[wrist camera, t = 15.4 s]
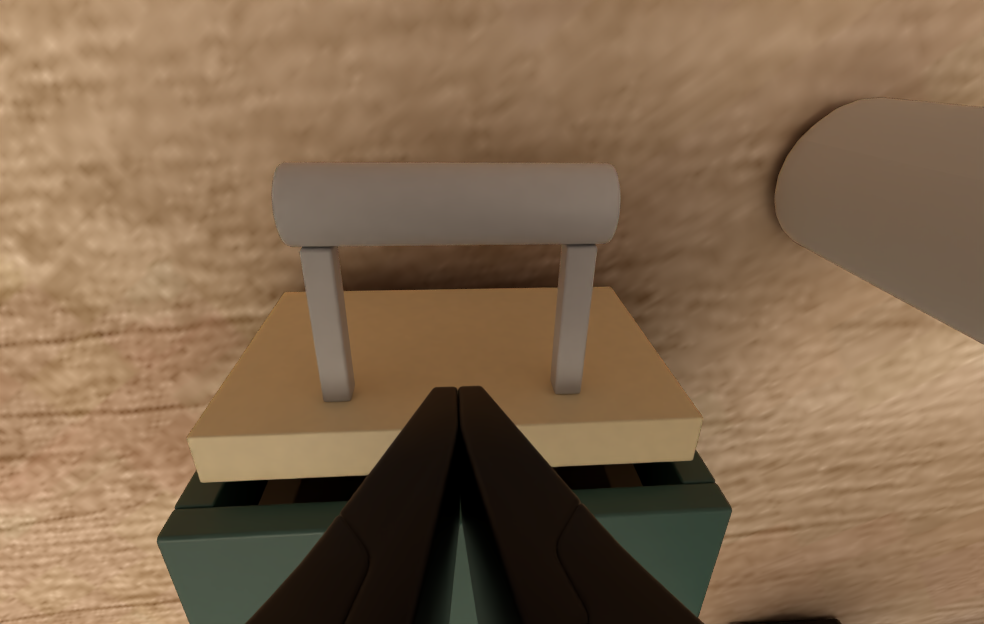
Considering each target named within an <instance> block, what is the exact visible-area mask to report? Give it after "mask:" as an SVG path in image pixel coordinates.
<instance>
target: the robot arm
mask: <svg viewBox="0 0 984 624" xmlns="http://www.w3.org/2000/svg"><path fill="white" fill-rule="evenodd" d="M460 503H461V517H462V525H463V532H464V539H465V545H466V552H467V558H468V564H469V571H470V577H471V583H472V590H473V596H474V602H475V609H476V615H477V622H478V624H704V623H703V622H702V621H701V620H700V619H699V618H697V617H696V616H695V615H694V614H693V613H692V612H691V611H690V610H689V609H688V608H687V607H686V606H684V605H683V604H682V603H681V602H680V601H679V600H678V599H677V598H676V597H675V596H674V595H673V594H672V593H670V592H669V591H668V590H667V589H666V588H665V587H664V586H663V585H662V584H661V583H660V582H659V581H657V580H656V579H655V578H654V577H653V576H652V575H651V574H650V573H649V572H648V571H647V570H646V569H645V568H644V567H643V566H642V565H641V564H640V563H639V562H637V561H636V560H635V559H634V558H633V557H632V556H631V555H630V554H629V553H628V552H627V551H626V550H625V549H624V548H623V547H622V546H621V545H620V544H619V543H618V542H617V541H616V540H615V538H614V537H613V536H612V535H611V534H610V533H609V532H608V531H607V530H606V529H605V528H604V527H603V525H602V524H601V523H600V522H599V521H598V520H597V519H596V518H595V517H594V515H593V514H592V513H591V512H590V511H589V510H588V508H587V507H586V506H585V505H584V504H583V503H581V501H580V499H579V498H578V497H577V496H576V495H575V494H574V492H573V491H572V490H571V489H570V488H569V487H568V485H567V484H566V483H565V482H564V481H563V480H562V478H561V477H560V476H559V475H558V474H557V473H556V472H555V470H554V469H553V468H552V467H551V466H550V465H549V463H548V462H547V461H546V460H545V459H544V458H543V456H542V455H541V454H540V453H539V452H538V451H537V449H536V448H535V447H534V446H533V445H532V444H531V443H530V441H529V440H528V439H527V438H526V437H525V436H524V434H523V433H522V432H521V431H520V430H519V429H518V427H517V426H516V425H515V424H514V423H513V422H512V421H511V419H510V418H509V417H508V416H507V415H506V414H505V412H504V411H503V410H502V409H501V408H500V407H499V405H498V404H497V403H496V402H495V401H494V400H493V399H492V397H491V396H490V395H489V394H488V393H487V392H486V390H485V389H484V388H483V387H482V386H461V387H459V389H458V390H457V388H456V387H453V386H451V387H435V388H433V389H432V390H431V392H430V393H429V394H428V396H427V397H426V398H425V400H424V401H423V402H422V404H421V405H420V406H419V408H418V409H417V410H416V412H415V413H414V414H413V416H412V417H411V418H410V420H409V421H408V422H407V424H406V425H405V426H404V428H403V429H402V430H401V432H400V433H399V434H398V436H397V437H396V438H395V440H394V441H393V442H392V444H391V445H390V446H389V448H388V449H387V450H386V452H385V453H384V454H383V456H382V457H381V458H380V460H379V461H378V462H377V464H376V465H375V466H374V468H373V469H372V470H371V472H370V473H369V474H368V476H367V477H366V478H365V480H364V481H363V482H362V484H361V485H360V486H359V488H358V489H357V490H356V492H355V493H354V494H353V496H352V497H351V498H350V500H349V501H348V502H347V504H346V505H345V506H344V508H343V509H342V510H341V512H340V516H337V517H336V518H335V519H334V521H333V522H332V523H331V525H330V526H329V527H328V529H327V530H326V531H325V533H324V534H323V535H322V537H321V538H320V539H319V540H318V542H317V543H316V544H315V545H314V547H313V548H312V549H311V550H310V552H309V553H308V554H307V555H306V557H305V558H304V559H303V560H302V562H301V563H300V564H299V565H298V566H297V567H296V569H295V570H294V571H293V572H292V573H291V574H290V575H289V576H288V577H287V579H286V580H285V581H284V582H283V583H282V584H281V585H280V586H279V588H278V589H277V590H276V591H275V592H274V593H273V594H272V595H271V596H270V598H269V599H268V600H267V601H266V602H265V603H264V604H263V605H262V606H261V607H260V608H259V609H258V610H257V611H256V613H255V614H254V615H253V616H252V617H251V618H250V619H249V620H248V621H247V622H246V623H245V624H449V622H450V612H451V602H452V592H453V583H454V573H455V563H456V553H457V544H458V534H459V522H460ZM772 624H841V622H840V621H839V620H837V619H828V620H814V621H800V622H786V623H772Z"/></svg>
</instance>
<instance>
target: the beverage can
mask: <svg viewBox="0 0 984 624" xmlns="http://www.w3.org/2000/svg"><path fill="white" fill-rule="evenodd" d="M774 197H775V210H776V216H777V218H778V221H779V223H780V225H781V228H782V230H783V231H784V232H785V233H786V234H787V235H788V236H789V237H790V238H791V239H792V240H793V241H794V242H796V243H798V244H799V245H801V246H803V247H805V248H807V249H808V250H810V251H812V252H814V253H816V254H817V255H819V256H821V257H823V258H825V259H827V260H828V261H830V262H832V263H834V264H836V265H837V266H839V267H841V268H843V269H845V270H847V271H848V272H850V273H852V274H854V275H856V276H858V277H859V278H861V279H863V280H865V281H867V282H869V283H870V284H872V285H874V286H876V287H878V288H880V289H882V290H883V291H885V292H887V293H889V294H891V295H893V296H894V297H896V298H898V299H900V300H902V301H904V302H906V303H908V304H909V305H911V306H913V307H915V308H917V309H919V310H921V311H922V312H924V313H926V314H928V315H930V316H932V317H934V318H935V319H937V320H939V321H941V322H943V323H945V324H947V325H949V326H950V327H952V328H954V329H956V330H958V331H960V332H962V333H963V334H965V335H967V336H969V337H971V338H973V339H975V340H977V341H978V342H980V343H982V344H984V107H977V106H967V105H956V104H946V103H935V102H925V101H914V100H904V99H893V98H883V97H880V98H868V99H859V100H857V101H854V102H851V103H849V104H846V105H844V106H841V107H838V108H837V109H835V110H834V111H832V112H831V113H830V114H828V115H827V116H825V117H824V118H823V119H821V120H820V121H818V122H817V123H816V124H815V125H813V126H812V127H811V128H810V129H809V130H808V131H807V132H806V133H805V134H804V135H803V136H802V137H801V138H800V139H799V140H798V141H797V142H796V144H795V145H794V147H793V148H792V150H791V151H790V152H789V154H788V155H787V157H786V159H785V161H784V164H783V166H782V168H781V170H780V173H779V175H778V179H777V185H776V190H775V196H774Z"/></svg>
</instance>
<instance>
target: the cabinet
mask: <svg viewBox="0 0 984 624" xmlns="http://www.w3.org/2000/svg"><path fill="white" fill-rule="evenodd" d="M633 465H634V467H635V470H636V472H637V474H638V476H639V478H640V481H641V483H642V485H643V486H638V487H617V488H597V489H576V490H572V491H573V492H574V494H575V495H576V496H577V497H578V498H579V499H580V501H581V503H583V504H584V505H585V506H586V507H587V508H588V510H589V511H590V512H591V513H592V514H593V515H594V517H595V518H596V519H597V520H598V521H599V522H600V523H601V524H602V525H603V527H604V528H605V529H606V530H607V531H608V532H609V533H610V534H611V535H612V536H613V537H614V538H615V540H616V541H617V542H618V543H619V544H620V545H621V546H622V547H623V548H624V549H625V550H626V551H627V552H628V553H629V554H630V555H631V556H632V557H633V558H634V559H635V560H636V561H637V562H639V563H640V564H641V565H642V566H643V567H644V568H645V569H646V570H647V571H648V572H649V573H650V574H651V575H652V576H653V577H654V578H655V579H656V580H657V581H659V582H660V583H661V584H662V585H663V586H664V587H665V588H666V589H667V590H668V591H669V592H670V593H672V594H673V595H674V596H675V597H676V598H677V599H678V600H679V601H680V602H681V603H682V604H683V605H684V606H686V607H687V608H688V609H689V610H690V611H691V612H692V613H693V614H694V615H695V616H696V617H697V618H698V616H699V613H700V610H701V607H702V604H703V600H704V597H705V594H706V591H707V588H708V585H709V582H710V579H711V575H712V572H713V569H714V566H715V563H716V560H717V557H718V553H719V550H720V547H721V544H722V541H723V538H724V535H725V532H726V528H727V525H728V522H729V519H730V516H731V513H732V508H731V506H730V504H729V502H728V501H727V499H726V498H725V496H724V494H723V493H722V491H721V490H720V488H719V486H718V485H717V484H715V479H714V478H713V476H712V474H711V473H710V471H709V470H708V468H707V466H706V465H705V463H704V462H703V460H702V459H701V457H700V455H699V454H698V452H697V451H696V449H695V453H694V457H693V460H691V461H672V462H650V463H633ZM267 483H268V480H250V481H228V482H206V483H202V482H200V479H199V476H198V473H197V470H196V472H195V473H194V475H193V477H192V478H191V480H190V482H189V483H188V485H187V487H186V488H185V490H184V492H183V493H182V495H181V497H180V498H179V500H178V502H177V503H176V505H175V510H174V511H173V512H172V514H171V515H170V517H169V519H168V520H167V522H166V524H165V525H164V527H163V529H162V530H161V532H160V534H159V535H158V538H157V544H158V546H159V549H160V551H161V554H162V556H163V559H164V561H165V564H166V566H167V569H168V571H169V574H170V576H171V579H172V581H173V584H174V586H175V589H176V591H177V593H178V596H179V598H180V601H181V603H182V606H183V608H184V611H185V613H186V616H187V618H188V621H189V623H190V624H245V623H246V622H247V621H248V620H249V619H250V618H251V617H252V616H253V615H254V614H255V613H256V611H257V610H258V609H259V608H260V607H261V606H262V605H263V604H264V603H265V602H266V601H267V600H268V599H269V598H270V596H271V595H272V594H273V593H274V592H275V591H276V590H277V589H278V588H279V586H280V585H281V584H282V583H283V582H284V581H285V580H286V579H287V577H288V576H289V575H290V574H291V573H292V572H293V571H294V570H295V569H296V567H297V566H298V565H299V564H300V563H301V562H302V560H303V559H304V558H305V557H306V555H307V554H308V553H309V552H310V550H311V549H312V548H313V547H314V545H315V544H316V543H317V542H318V540H319V539H320V538H321V537H322V535H323V534H324V533H325V531H326V530H327V529H328V527H329V526H330V525H331V523H332V522H333V521H334V519H335V518H336V517H337V516H340V512H341V510H342V509H343V508H344V506H345V505H346V504H347V502H348V501H330V502H310V503H289V504H269V505H258V504H259V502H260V499H261V497H262V495H263V492H264V490H265V487H266V485H267ZM449 624H478V622H477V615H476V609H475V602H474V596H473V590H472V583H471V577H470V571H469V564H468V558H467V552H466V545H465V539H464V532H463V525H462V517H461V503H460V522H459V534H458V544H457V553H456V563H455V573H454V583H453V592H452V602H451V612H450V622H449Z"/></svg>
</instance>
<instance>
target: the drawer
mask: <svg viewBox="0 0 984 624" xmlns="http://www.w3.org/2000/svg"><path fill="white" fill-rule="evenodd" d="M620 202H621V195H620V184H619V178H618V174H617V171H616V169H615V167H614V166H613V165H611V164H609V163H446V162H283V163H281V164H279V165H278V166H277V167H276V170H275V172H274V177H273V183H272V208H273V215H274V220H275V224H276V227H277V231H278V233H279V236H280V238H281V240H282V241H283V242H284V244H286V245H288V246H290V247H302V248H301V249H300V259H301V265H302V271H303V277H304V284H305V290H306V292H284V293H283V295H282V296H281V298H280V299H279V301H278V302H277V304H276V305H275V307H274V308H273V310H272V311H271V313H270V314H269V316H268V317H267V319H266V320H265V322H264V323H263V325H262V326H261V328H260V329H259V330H258V332H257V333H256V335H255V336H254V338H253V339H252V341H251V342H250V344H249V345H248V347H247V348H246V350H245V351H244V353H243V354H242V356H241V357H240V359H239V360H238V362H237V363H236V365H235V366H234V368H233V369H232V371H231V372H230V374H229V375H228V377H227V378H226V379H225V381H224V382H223V384H222V385H221V387H220V388H219V390H218V391H217V393H216V394H215V396H214V397H213V399H212V400H211V402H210V403H209V405H208V406H207V408H206V409H205V411H204V412H203V414H202V415H201V417H200V418H199V420H198V421H197V423H196V424H195V426H194V427H193V429H192V430H191V431H190V433H189V434H188V436H187V442H188V445H189V448H190V451H191V454H192V457H193V460H194V464H195V467H196V470H197V473H198V476H199V479H200V482H202V483H206V482H228V481H250V480H268V483H267V485H266V487H265V490H264V492H263V495H262V497H261V499H260V502H259V504H258V505H269V504H289V503H310V502H330V501H349V500H350V498H351V497H352V496H353V494H354V493H355V492H356V490H357V489H358V488H359V486H360V485H361V484H362V482H363V481H364V480H365V478H366V477H367V476H368V474H369V473H370V472H371V470H372V469H373V468H374V466H375V465H376V464H377V462H378V461H379V460H380V458H381V457H382V456H383V454H384V453H385V452H386V450H387V449H388V448H389V446H390V445H391V444H392V442H393V441H394V440H395V438H396V437H397V436H398V434H399V433H400V432H401V430H402V429H403V428H404V426H405V425H406V424H407V422H408V421H409V420H410V418H411V417H412V416H413V414H414V413H415V412H416V410H417V409H418V408H419V406H420V405H421V404H422V402H423V401H424V400H425V398H426V397H427V396H428V394H429V393H430V392H431V390H432V389H433V388H435V387H451V386H453V387H456V388H457V390H458V389H459V387H461V386H482V387H483V388H484V389H485V390H486V392H487V393H488V394H489V395H490V396H491V397H492V399H493V400H494V401H495V402H496V403H497V404H498V405H499V407H500V408H501V409H502V410H503V411H504V412H505V414H506V415H507V416H508V417H509V418H510V419H511V421H512V422H513V423H514V424H515V425H516V426H517V427H518V429H519V430H520V431H521V432H522V433H523V434H524V436H525V437H526V438H527V439H528V440H529V441H530V443H531V444H532V445H533V446H534V447H535V448H536V449H537V451H538V452H539V453H540V454H541V455H542V456H543V458H544V459H545V460H546V461H547V462H548V463H549V465H550V466H551V467H552V468H553V469H554V470H555V472H556V473H557V474H558V475H559V476H560V477H561V478H562V480H563V481H564V482H565V483H566V484H567V485H568V487H569V488H570V489H571V490H576V489H597V488H617V487H638V486H643V485H642V483H641V481H640V478H639V476H638V474H637V472H636V470H635V467H634V465H633V463H650V462H672V461H691V460H693V457H694V453H695V449H696V446H697V442H698V438H699V434H700V430H701V426H702V422H703V417H702V415H701V414H700V412H699V411H698V410H697V408H696V407H695V405H694V404H693V402H692V401H691V400H690V398H689V397H688V395H687V394H686V392H685V391H684V390H683V388H682V387H681V385H680V384H679V383H678V381H677V380H676V378H675V377H674V375H673V374H672V373H671V371H670V370H669V368H668V367H667V366H666V364H665V363H664V361H663V360H662V358H661V357H660V356H659V354H658V353H657V351H656V350H655V349H654V347H653V346H652V344H651V343H650V341H649V340H648V339H647V337H646V336H645V334H644V333H643V332H642V330H641V329H640V327H639V326H638V324H637V323H636V322H635V320H634V319H633V317H632V316H631V315H630V313H629V312H628V310H627V309H626V307H625V306H624V305H623V303H622V302H621V300H620V299H619V298H618V296H617V295H616V293H615V292H614V290H613V289H612V288H611V287H593V281H594V273H595V264H596V255H597V247H596V245H595V244H605V243H607V242H609V241H611V239H612V238H613V236H614V234H615V231H616V228H617V224H618V220H619V214H620ZM527 244H561V256H560V268H559V280H558V288H498V289H439V290H379V291H343V284H342V276H341V268H340V260H339V252H338V246H426V245H527Z"/></svg>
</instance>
